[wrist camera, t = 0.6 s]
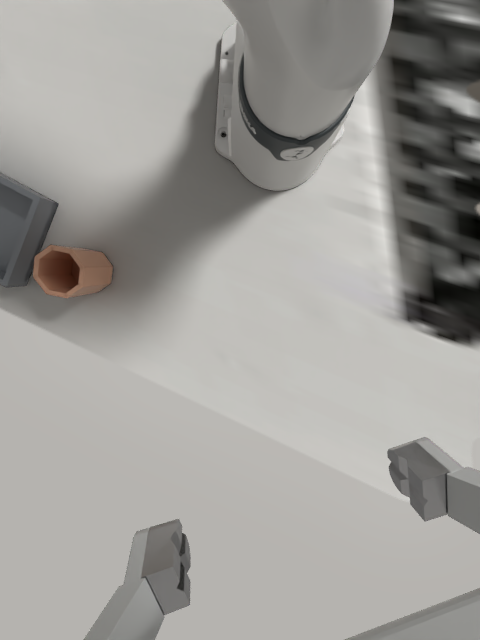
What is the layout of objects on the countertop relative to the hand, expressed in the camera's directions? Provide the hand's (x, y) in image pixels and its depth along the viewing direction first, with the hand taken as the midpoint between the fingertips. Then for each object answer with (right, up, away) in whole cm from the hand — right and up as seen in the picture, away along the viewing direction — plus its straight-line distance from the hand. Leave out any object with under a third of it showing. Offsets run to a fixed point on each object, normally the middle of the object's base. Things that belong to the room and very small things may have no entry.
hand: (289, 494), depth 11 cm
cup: (-25, +14, +35) cm, 45 cm away
